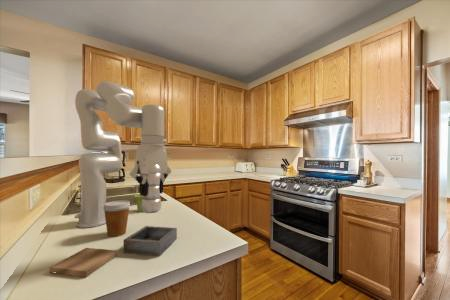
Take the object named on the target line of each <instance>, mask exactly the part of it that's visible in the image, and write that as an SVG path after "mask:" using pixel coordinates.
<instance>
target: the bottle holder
mask: <svg viewBox="0 0 450 300" xmlns="http://www.w3.org/2000/svg"><path fill="white" fill-rule="evenodd" d="M177 228H178V227H169V226H168V227H166V226H153V225H145V226H144V227H142V228H140V229H139V230H137V231H136V232H134V233H132V234H131V235H129V236H127V237H126V238H124V239H123V254H133V255H141V256H142V255H144V256H145V255H146V256H155V257H156V256H157V257H161V256H162V255H163V254H164V253H165V252H166V251H167V249H168V248H170V247H171V246H172V245H173V243H174V242H175V241H176V240H177V239H178V236H177V235H178V231H177ZM152 239H153V240H152Z"/></svg>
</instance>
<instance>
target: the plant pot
mask: <svg viewBox="0 0 450 300" xmlns="http://www.w3.org/2000/svg"><path fill="white" fill-rule="evenodd" d="M134 199H135V201H136V207H137V212H139V213H144V212H143V211H142V208H141V204H142V199H143V196H142V195H140V193H138V194H134Z"/></svg>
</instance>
